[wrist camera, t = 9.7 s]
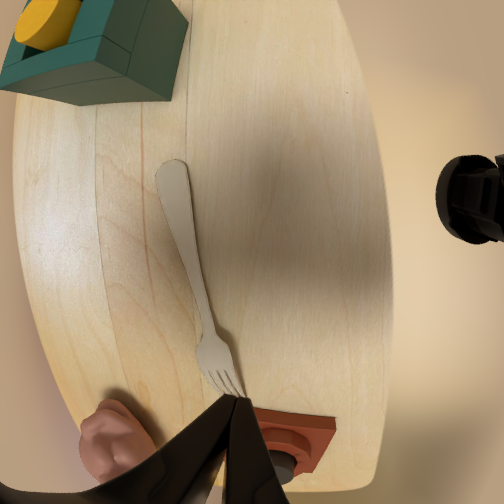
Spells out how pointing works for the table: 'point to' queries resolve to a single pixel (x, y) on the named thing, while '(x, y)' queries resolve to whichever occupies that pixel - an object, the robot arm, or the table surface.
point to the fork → (194, 273)
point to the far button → (283, 465)
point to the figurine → (113, 441)
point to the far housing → (297, 436)
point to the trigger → (47, 23)
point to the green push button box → (104, 56)
